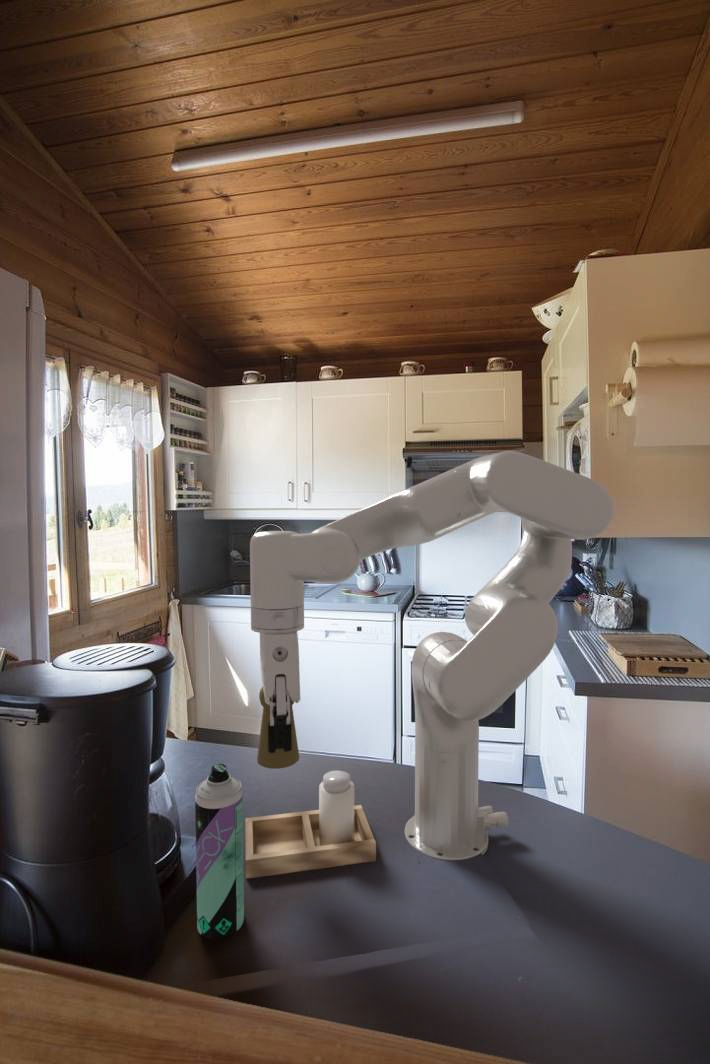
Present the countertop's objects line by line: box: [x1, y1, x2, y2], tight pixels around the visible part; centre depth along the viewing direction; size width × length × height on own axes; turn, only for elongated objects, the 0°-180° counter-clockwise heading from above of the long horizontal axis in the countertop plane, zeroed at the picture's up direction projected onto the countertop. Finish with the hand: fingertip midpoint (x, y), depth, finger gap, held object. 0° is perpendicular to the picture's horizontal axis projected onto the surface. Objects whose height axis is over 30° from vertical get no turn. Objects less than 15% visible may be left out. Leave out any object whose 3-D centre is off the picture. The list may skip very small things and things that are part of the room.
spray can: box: [194, 763, 245, 940], centre depth 65 cm, size 6×6×20 cm
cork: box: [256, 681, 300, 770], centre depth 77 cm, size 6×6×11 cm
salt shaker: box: [318, 770, 355, 846], centre depth 80 cm, size 5×5×10 cm
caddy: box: [245, 804, 377, 879], centre depth 79 cm, size 18×10×4 cm, turn 102°
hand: (278, 742), depth 77 cm, fingers closed on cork, 4 cm apart
